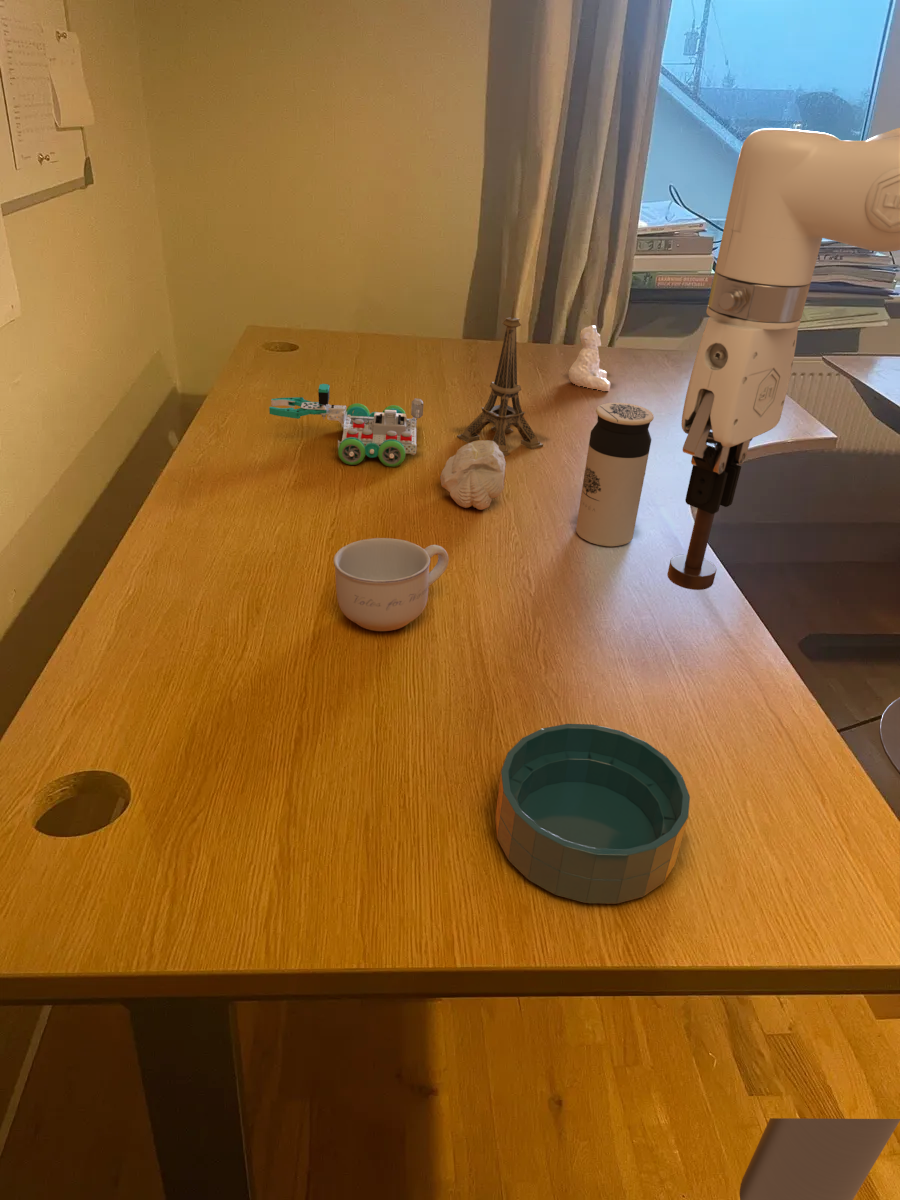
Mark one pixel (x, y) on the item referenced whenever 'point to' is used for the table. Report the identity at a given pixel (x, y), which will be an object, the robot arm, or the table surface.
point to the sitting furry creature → (589, 362)
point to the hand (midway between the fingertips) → (708, 503)
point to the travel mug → (614, 474)
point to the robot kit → (361, 427)
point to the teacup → (385, 581)
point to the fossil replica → (475, 474)
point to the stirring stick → (695, 556)
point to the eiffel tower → (504, 398)
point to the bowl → (591, 813)
